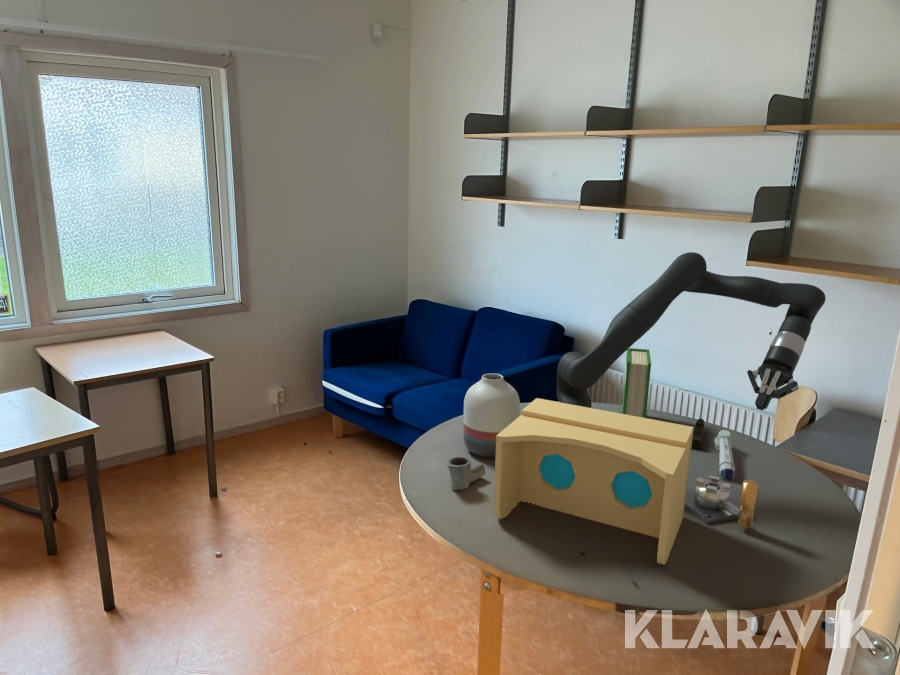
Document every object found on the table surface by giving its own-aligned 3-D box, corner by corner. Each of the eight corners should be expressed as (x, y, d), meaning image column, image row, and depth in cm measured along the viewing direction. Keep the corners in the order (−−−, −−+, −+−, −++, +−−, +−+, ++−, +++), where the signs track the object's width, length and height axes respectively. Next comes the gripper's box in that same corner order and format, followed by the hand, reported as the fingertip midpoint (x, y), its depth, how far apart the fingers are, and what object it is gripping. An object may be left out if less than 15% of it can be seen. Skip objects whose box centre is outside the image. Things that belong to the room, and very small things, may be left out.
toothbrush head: (718, 466, 180) (716, 423, 202) (715, 486, 183) (713, 442, 205) (738, 469, 179) (734, 426, 200) (735, 490, 181) (731, 444, 203)
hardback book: (644, 433, 212) (651, 363, 206) (621, 431, 214) (627, 361, 208) (643, 414, 229) (649, 349, 223) (621, 412, 230) (627, 347, 224)
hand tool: (701, 452, 199) (703, 438, 198) (687, 449, 201) (689, 435, 200) (708, 431, 216) (710, 418, 214) (696, 429, 217) (697, 416, 216)
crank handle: (687, 495, 169) (692, 456, 166) (713, 491, 171) (718, 453, 168) (735, 530, 152) (741, 488, 150) (763, 525, 155) (769, 483, 152)
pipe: (489, 480, 179) (489, 454, 177) (457, 496, 170) (457, 468, 168) (472, 473, 183) (473, 447, 181) (440, 488, 174) (441, 461, 172)
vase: (473, 435, 209) (475, 365, 203) (524, 443, 203) (527, 372, 197) (454, 456, 194) (456, 381, 188) (509, 465, 188) (512, 388, 182)
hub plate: (706, 524, 158) (707, 518, 157) (670, 497, 171) (670, 492, 170) (752, 515, 162) (753, 509, 162) (713, 489, 175) (714, 484, 175)
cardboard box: (683, 517, 161) (693, 427, 155) (662, 572, 139) (673, 469, 133) (532, 480, 179) (536, 398, 173) (493, 523, 157) (496, 430, 151)
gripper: (813, 366, 167) (788, 423, 162) (760, 354, 176) (735, 407, 171) (810, 351, 162) (785, 409, 157) (756, 339, 171) (730, 394, 166)
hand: (759, 408), depth 164 cm, fingers closed
